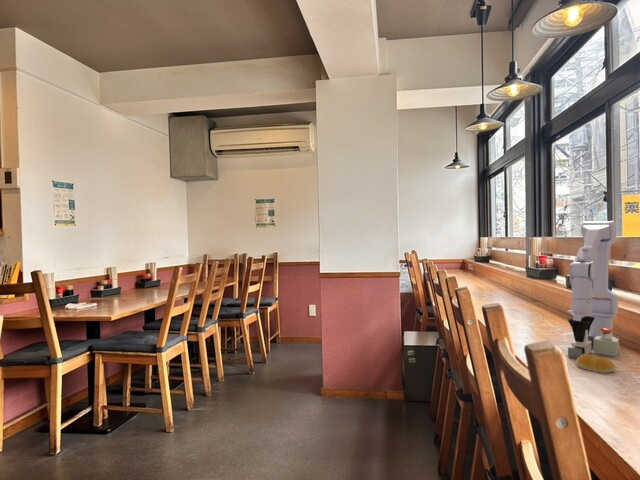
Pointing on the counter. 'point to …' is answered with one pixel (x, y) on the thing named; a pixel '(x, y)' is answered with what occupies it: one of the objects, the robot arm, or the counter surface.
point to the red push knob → (606, 333)
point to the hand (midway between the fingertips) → (581, 339)
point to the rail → (579, 349)
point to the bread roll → (595, 363)
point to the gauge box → (606, 346)
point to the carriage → (583, 343)
